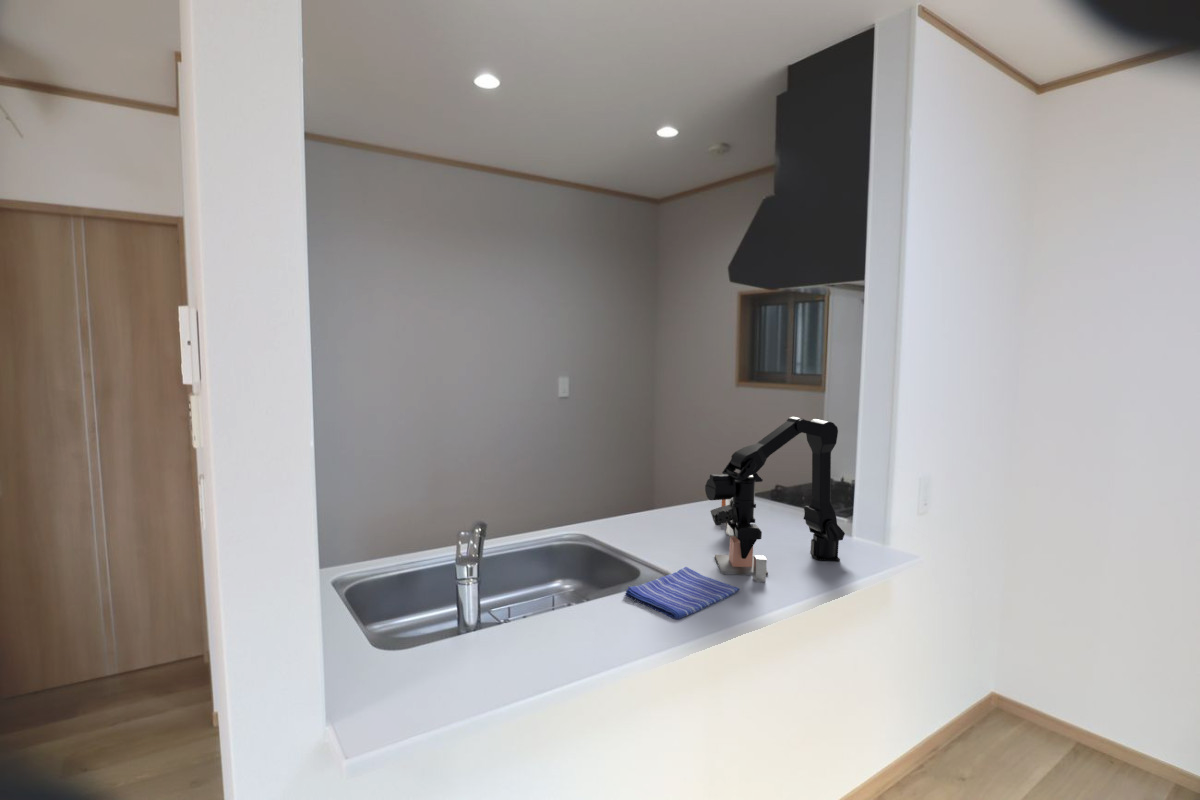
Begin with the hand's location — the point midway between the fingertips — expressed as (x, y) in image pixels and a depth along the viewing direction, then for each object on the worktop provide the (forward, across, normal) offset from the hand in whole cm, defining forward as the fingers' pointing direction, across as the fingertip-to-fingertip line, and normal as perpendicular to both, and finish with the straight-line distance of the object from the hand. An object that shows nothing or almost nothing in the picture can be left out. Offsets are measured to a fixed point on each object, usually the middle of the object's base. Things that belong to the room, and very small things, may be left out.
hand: (741, 553), depth 160 cm
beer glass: (+4, -27, +4) cm, 28 cm away
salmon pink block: (+3, 0, 0) cm, 3 cm away
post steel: (+4, +9, +3) cm, 10 cm away
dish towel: (+4, +19, -18) cm, 27 cm away
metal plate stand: (+4, 0, 0) cm, 4 cm away
